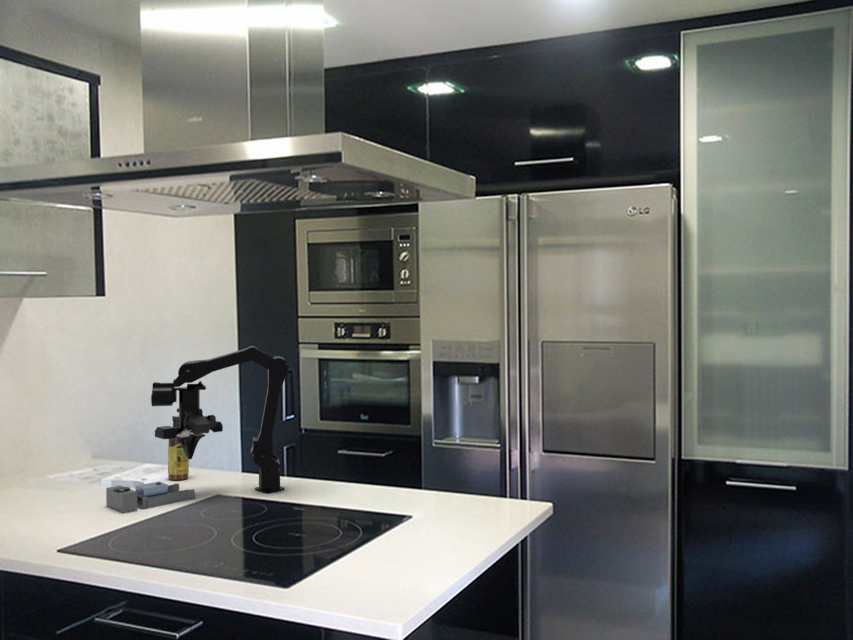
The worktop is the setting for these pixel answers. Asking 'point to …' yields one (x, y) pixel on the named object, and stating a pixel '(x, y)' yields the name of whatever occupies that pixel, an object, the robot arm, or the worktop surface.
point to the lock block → (152, 489)
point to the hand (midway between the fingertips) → (189, 459)
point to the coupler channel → (143, 498)
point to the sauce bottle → (177, 457)
